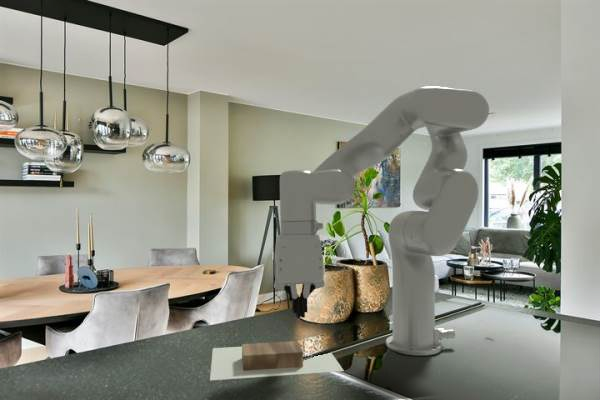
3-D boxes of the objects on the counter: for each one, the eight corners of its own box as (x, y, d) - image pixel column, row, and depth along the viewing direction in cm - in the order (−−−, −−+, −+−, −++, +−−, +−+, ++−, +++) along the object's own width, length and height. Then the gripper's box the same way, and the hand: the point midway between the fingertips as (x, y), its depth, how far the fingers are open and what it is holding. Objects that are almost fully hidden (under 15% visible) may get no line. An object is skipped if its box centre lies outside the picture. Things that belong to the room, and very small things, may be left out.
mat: (323, 343, 103) (323, 341, 103) (344, 373, 86) (344, 370, 86) (212, 350, 99) (212, 348, 99) (209, 382, 81) (209, 380, 81)
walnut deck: (297, 341, 95) (242, 344, 93) (302, 352, 88) (243, 355, 86) (297, 354, 95) (242, 358, 93) (302, 366, 88) (243, 370, 86)
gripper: (328, 227, 96) (330, 309, 96) (261, 229, 94) (263, 313, 94) (337, 229, 89) (338, 318, 89) (264, 231, 86) (266, 323, 86)
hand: (299, 315), depth 91 cm, fingers closed
